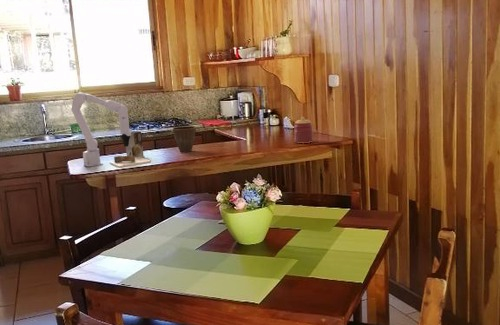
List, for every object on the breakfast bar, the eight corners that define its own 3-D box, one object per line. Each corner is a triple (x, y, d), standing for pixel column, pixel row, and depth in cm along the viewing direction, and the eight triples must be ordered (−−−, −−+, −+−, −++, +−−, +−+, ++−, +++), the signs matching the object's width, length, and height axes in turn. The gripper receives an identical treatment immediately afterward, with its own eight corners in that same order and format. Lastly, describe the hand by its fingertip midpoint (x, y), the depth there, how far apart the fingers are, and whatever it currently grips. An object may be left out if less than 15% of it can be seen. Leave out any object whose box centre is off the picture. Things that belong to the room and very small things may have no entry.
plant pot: (201, 150, 341) (199, 126, 338) (182, 154, 332) (180, 129, 329) (188, 148, 353) (187, 125, 349) (170, 152, 343) (168, 128, 340)
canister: (313, 140, 359) (312, 115, 355) (313, 143, 346) (312, 117, 342) (294, 141, 360) (293, 116, 356) (294, 144, 347) (293, 118, 344)
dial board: (118, 167, 301) (118, 165, 300) (110, 163, 314) (109, 161, 314) (150, 162, 311) (150, 160, 311) (141, 158, 324) (140, 156, 324)
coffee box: (137, 155, 338) (135, 130, 335) (143, 155, 334) (141, 131, 331) (126, 157, 331) (123, 132, 328) (132, 158, 327) (130, 133, 324)
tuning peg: (113, 162, 311) (112, 156, 310) (116, 160, 315) (116, 155, 314) (132, 162, 307) (132, 156, 307) (136, 160, 312) (135, 155, 311)
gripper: (134, 124, 310) (136, 146, 313) (126, 122, 322) (128, 144, 325) (123, 126, 307) (125, 148, 309) (115, 124, 319) (117, 145, 321)
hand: (126, 146), depth 317 cm, fingers closed
